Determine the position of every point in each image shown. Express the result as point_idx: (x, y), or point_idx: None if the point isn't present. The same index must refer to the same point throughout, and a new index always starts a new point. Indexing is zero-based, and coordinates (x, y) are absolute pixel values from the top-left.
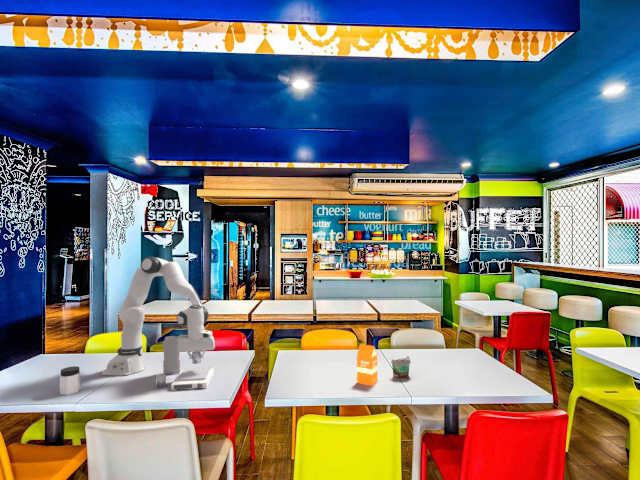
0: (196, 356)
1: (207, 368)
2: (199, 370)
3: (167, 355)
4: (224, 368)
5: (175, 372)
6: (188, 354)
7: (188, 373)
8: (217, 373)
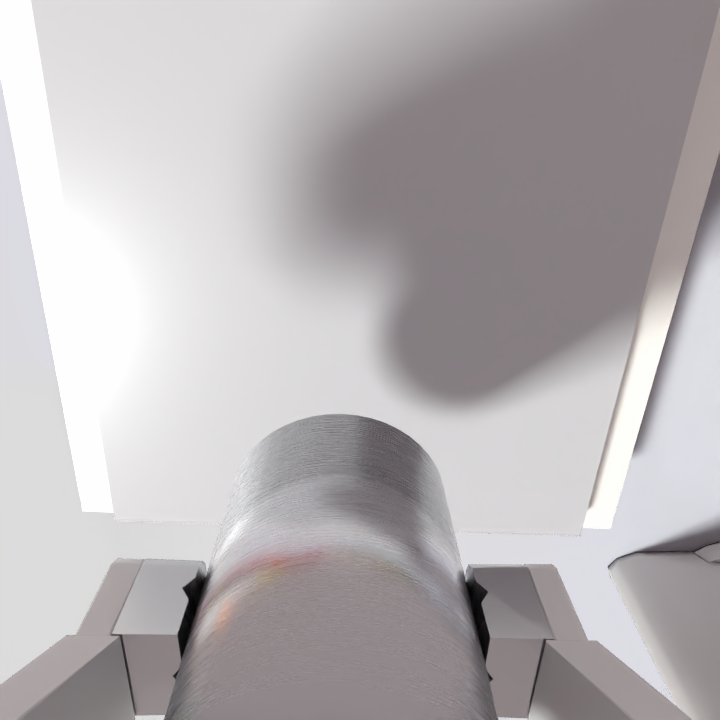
0: (305, 562)
1: (161, 479)
2: (289, 404)
3: None
4: (25, 617)
5: (678, 564)
6: (647, 691)
7: (485, 275)
8: (60, 463)
